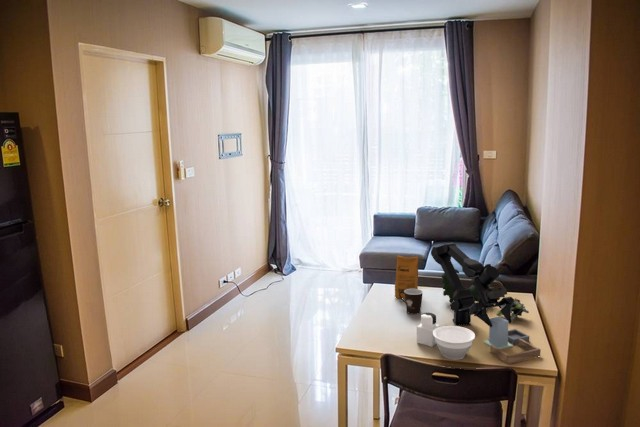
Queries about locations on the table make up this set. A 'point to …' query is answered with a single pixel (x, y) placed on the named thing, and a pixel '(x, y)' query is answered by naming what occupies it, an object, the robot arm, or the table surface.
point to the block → (498, 331)
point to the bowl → (453, 341)
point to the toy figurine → (450, 292)
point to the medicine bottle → (427, 329)
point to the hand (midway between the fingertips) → (501, 324)
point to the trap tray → (516, 336)
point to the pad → (499, 346)
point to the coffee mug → (413, 300)
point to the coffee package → (406, 275)
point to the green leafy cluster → (515, 309)
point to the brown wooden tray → (513, 358)
